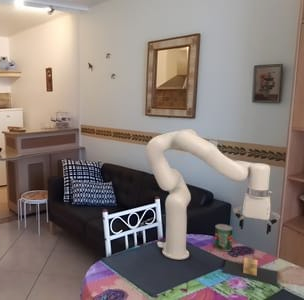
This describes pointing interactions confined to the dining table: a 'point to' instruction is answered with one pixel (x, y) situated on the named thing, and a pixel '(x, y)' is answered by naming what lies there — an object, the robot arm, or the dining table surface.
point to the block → (250, 266)
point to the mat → (262, 274)
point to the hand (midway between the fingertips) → (254, 230)
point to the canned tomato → (223, 237)
